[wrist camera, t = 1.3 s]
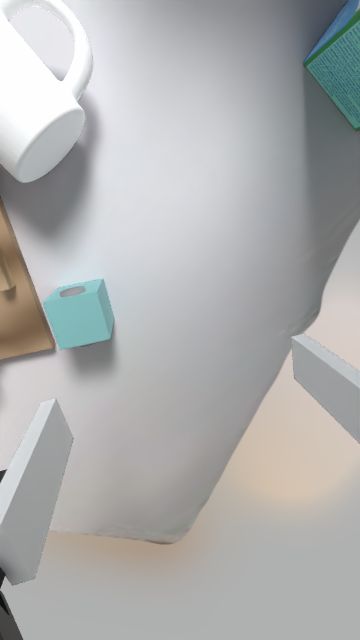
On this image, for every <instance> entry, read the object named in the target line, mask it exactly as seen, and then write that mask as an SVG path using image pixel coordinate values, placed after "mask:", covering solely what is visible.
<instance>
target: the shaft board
mask: <svg viewBox="0 0 360 640" xmlns="http://www.w3.org/2000/svg"><path fill="white" fill-rule="evenodd" d="M54 345H55V342H54V339H53V336H52V333H51V331H50V328H49V325H48V323H47V320H46V317H45V315H44V312H43V309H42V307H41V304H40V301H39V299H38V296H37V293H36V291H35V288H34V285H33V283H32V280H31V277H30V275H29V272H28V269H27V267H26V264H25V261H24V258H23V256H22V253H21V250H20V248H19V245H18V242H17V240H16V237H15V234H14V232H13V229H12V226H11V224H10V221H9V218H8V216H7V213H6V210H5V208H4V205H3V202H2V200H1V197H0V359H5V358H9V357H14V356H19V355H23V354H28V353H33V352H37V351H42V350H46V349H51V348H53V347H54Z"/></svg>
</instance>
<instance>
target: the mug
mask: <svg viewBox="0 0 360 640" xmlns="http://www.w3.org/2000/svg"><path fill="white" fill-rule="evenodd" d="M29 7H39V8H42V9H45V10H46V11H48V12H50V13H51V14H52V15H54V16H55V17H56V18H57V19H58V20H59V21H60V22H61V23H62V24H63V25H64V26H65V27H66V29H67V30H68V31H69V33H70V34H71V36H72V38H73V40H74V43H75V56H74V60H73V63H72V66H71V68H70V70H69V72H68V74H67V75H66V77H65V79H64V80H63V81H61V82H60V81H58V80H57V79H56V77H55V76H54V75H53V74H52V73H51V72H50V70H49V69H48V68H47V67H46V66H45V65H44V63H43V62H42V61H41V60H40V59H39V58H38V56H37V55H36V54H35V53H34V52H33V50H32V49H31V48H30V47H29V46H28V45H27V43H26V42H25V41H24V40H23V39H22V38H21V36H20V35H19V34H18V33H17V32H16V31H15V29H14V28H13V27H12V26H11V25H10V23H9V20H10V19H11V18H12V17H13V16H14V15H16V14H17V13H18V12H20V11H21V10H23V9H26V8H29ZM92 69H93V55H92V49H91V45H90V42H89V39H88V37H87V35H86V33H85V31H84V29H83V27H82V25H81V24H80V22H79V21H78V19H77V18H76V17H75V15H74V14H73V13H72V12H71V11H70V9H69V8H68V7H67V6H66V5H65V4H64V3H62V2H61V1H60V0H0V164H1V165H2V166H3V167H4V168H5V169H6V170H7V171H8V172H9V173H10V174H11V175H12V176H13V177H15V178H16V179H17V180H18V181H20V182H23V183H27V182H32V181H34V180H36V179H38V178H40V177H42V176H43V175H45V174H46V173H48V172H49V171H50V170H51V169H53V168H54V167H55V166H56V165H57V164H58V163H59V162H60V161H61V160H62V159H63V158H64V157H65V156H66V155H67V153H68V152H69V151H70V150H71V148H72V147H73V146H74V144H75V143H76V141H77V139H78V138H79V136H80V134H81V132H82V130H83V127H84V123H85V113H84V111H83V109H82V108H81V107H80V105H79V104H78V100H79V98H80V97H81V96H82V94H83V92H84V91H85V89H86V87H87V85H88V83H89V80H90V78H91V74H92Z"/></svg>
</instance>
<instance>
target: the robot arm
mask: <svg viewBox="0 0 360 640" xmlns="http://www.w3.org/2000/svg"><path fill="white" fill-rule="evenodd" d="M291 341H292V356H293V370H294V379H295V380H296V381H297V382H298V383H299V384H300V385H301V386H302V387H303V388H304V389H305V390H306V391H307V392H308V393H310V395H311V396H312V397H313V398H314V399H315V400H317V402H318V403H319V404H320V405H321V406H322V407H324V409H325V410H326V411H327V412H329V413H330V415H331V416H333V417H334V418H335V420H336V421H337V422H338V423H340V424H341V425H342V426H343V427H344V429H346V431H348V432H349V433H350V435H351V436H353V438H355V440H357V441H358V442H359V443H360V371H359V370H358V369H356V368H355V367H353V366H352V365H350V364H349V363H347V362H346V361H344V360H343V359H341V358H340V357H338V356H337V355H335V354H334V353H332V352H331V351H329V350H328V349H326V348H325V347H324V346H322V345H320V344H319V343H318V342H316V341H314V340H313V339H312V338H310V337H309V336H307V335H306V334H300V335H296V336H292V337H291ZM73 439H74V438H73V436H72V433H71V431H70V429H69V427H68V424H67V422H66V420H65V418H64V415H63V413H62V411H61V409H60V406H59V404H58V402H57V400H56V399H52V400H48V401H44V402H41V404H40V406H39V408H38V410H37V412H36V414H35V416H34V418H33V420H32V422H31V424H30V426H29V428H28V430H27V432H26V434H25V436H24V437H23V439H22V441H21V443H20V445H19V447H18V449H17V451H16V453H15V455H14V457H13V459H12V461H11V463H10V465H9V467H8V469H7V470H3V471H0V588H1V585H2V582H3V580H4V577H5V576H6V578H7V579H8V581H9V582H10V583H11V585H12V586H13V585H16V584H19V583H23V582H26V581H29V580H33V579H35V577H36V573H37V569H38V566H39V562H40V558H41V555H42V551H43V548H44V543H45V540H46V537H47V533H48V530H49V526H50V522H51V519H52V515H53V512H54V508H55V504H56V501H57V497H58V493H59V490H60V486H61V483H62V479H63V475H64V472H65V468H66V465H67V461H68V457H69V454H70V450H71V446H72V443H73ZM0 640H23V638H22V636H21V634H20V631H19V629H18V626H17V624H16V622H15V620H14V617H13V615H12V613H11V610H10V608H9V606H8V604H7V601H6V599H5V597H4V595H3V593H2V592H1V591H0Z"/></svg>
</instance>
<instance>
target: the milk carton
mask: <svg viewBox="0 0 360 640" xmlns="http://www.w3.org/2000/svg"><path fill="white" fill-rule="evenodd" d="M303 64H304V65H305V66H306V68H307V69H308V70H309V71H310V73H311V74H312V75H313V76H314V78H315V79H316V80H317V81H318V83H319V84H320V85H321V86H322V88H323V89H324V90H325V92H326V93H327V94H328V95H329V97H330V98H331V99H332V100H333V102H334V103H335V104H336V105H337V107H338V108H339V109H340V110H341V112H342V113H343V114H344V116H345V117H346V118H347V119H348V121H349V122H350V123H351V124H352V126H353V127H354V128H355V129H356V131H358V130H360V0H348V1H347V3H346V4H345V5H344V7H343V8H342V10H341V11H340V12H339V14H338V15H337V16H336V18H335V19H334V21H333V22H332V23H331V25H330V26H329V28H328V29H327V30H326V32H325V33H324V35H323V36H322V37H321V39H320V40H319V42H318V43H317V44H316V46H315V47H314V48H313V50H312V51H311V53H310V54H309V55H308V57H307V58H306V60H305V61H304V63H303Z"/></svg>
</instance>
